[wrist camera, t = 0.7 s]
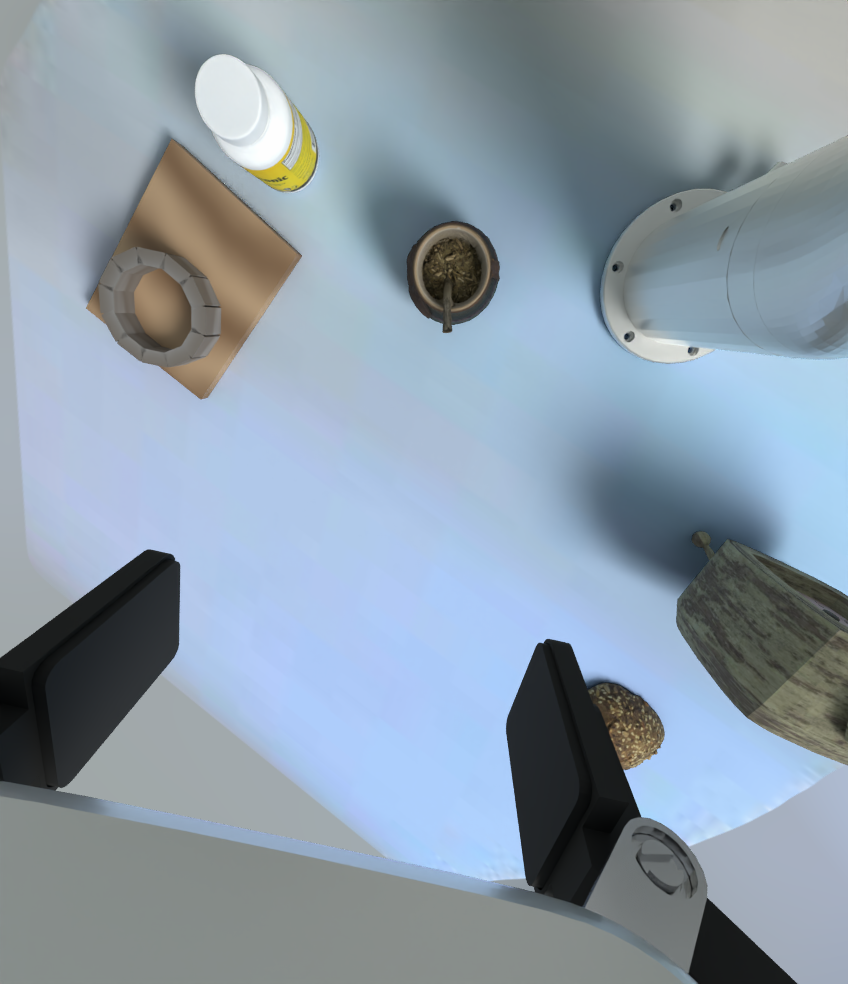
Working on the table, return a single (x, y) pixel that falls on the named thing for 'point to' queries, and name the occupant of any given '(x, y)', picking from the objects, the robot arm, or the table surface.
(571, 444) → the table surface
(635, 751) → the bread roll
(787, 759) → the table surface
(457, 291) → the mate gourd
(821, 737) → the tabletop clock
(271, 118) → the supplement bottle
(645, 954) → the robot arm
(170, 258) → the collar board
